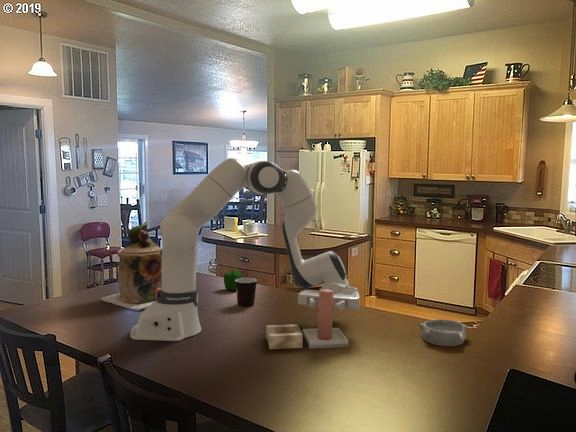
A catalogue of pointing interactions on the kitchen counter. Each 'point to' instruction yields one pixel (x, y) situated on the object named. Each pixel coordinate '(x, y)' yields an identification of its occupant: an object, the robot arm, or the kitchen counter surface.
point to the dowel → (325, 314)
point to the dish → (443, 332)
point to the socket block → (284, 336)
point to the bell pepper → (231, 279)
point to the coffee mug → (245, 291)
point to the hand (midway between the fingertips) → (324, 306)
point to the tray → (335, 342)
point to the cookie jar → (138, 271)
